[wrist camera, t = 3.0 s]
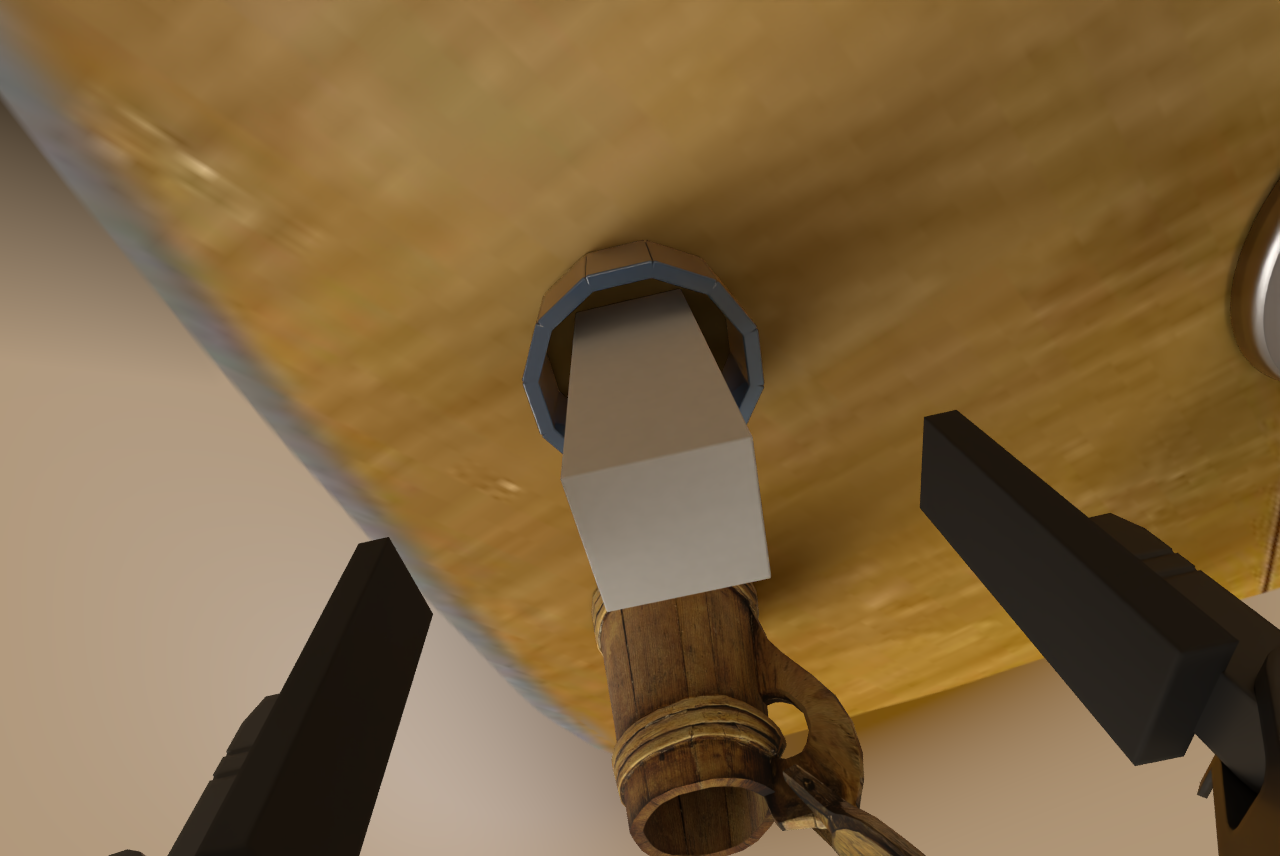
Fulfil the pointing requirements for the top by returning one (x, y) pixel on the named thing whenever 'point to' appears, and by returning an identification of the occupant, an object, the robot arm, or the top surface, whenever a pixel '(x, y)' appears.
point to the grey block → (658, 457)
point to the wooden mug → (725, 733)
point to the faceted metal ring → (623, 269)
